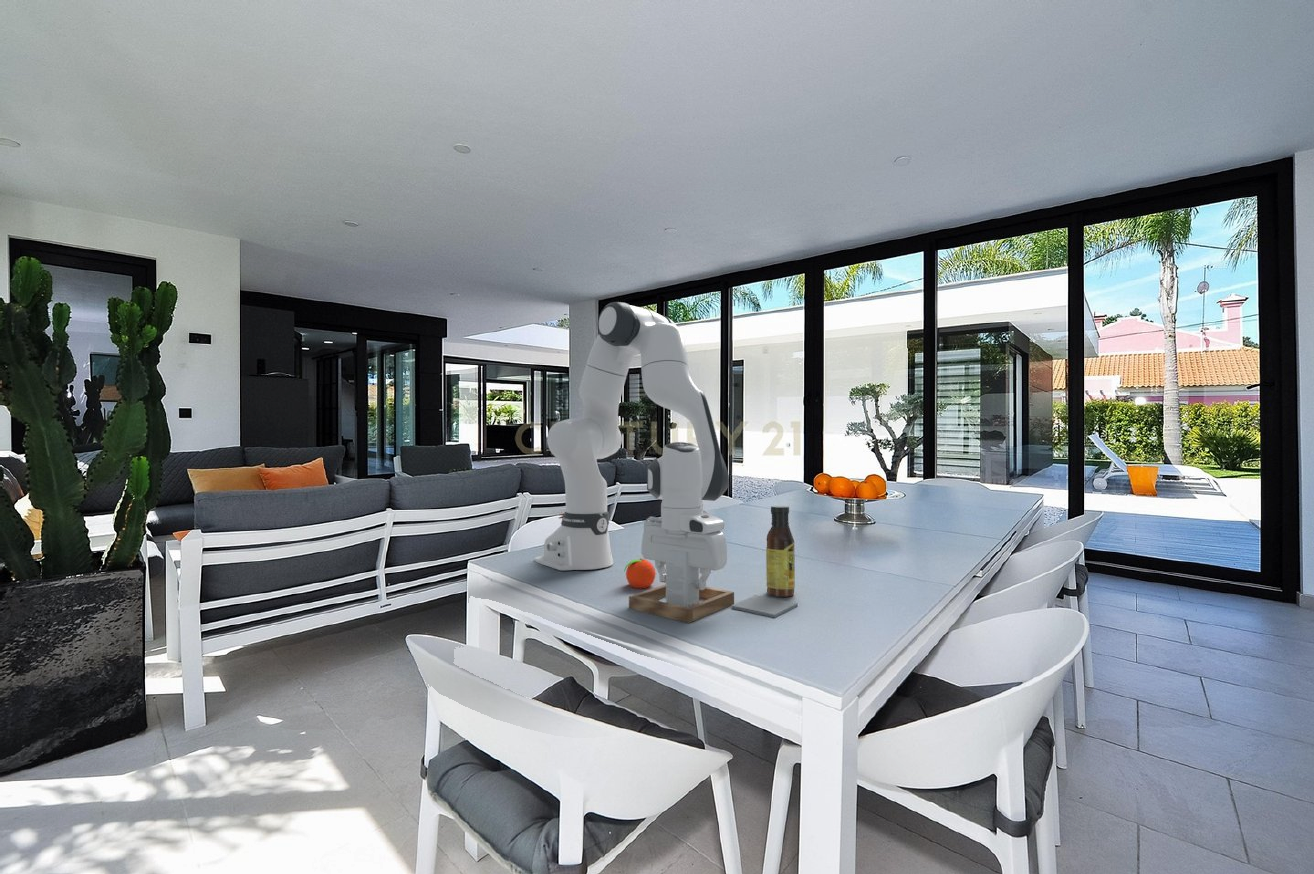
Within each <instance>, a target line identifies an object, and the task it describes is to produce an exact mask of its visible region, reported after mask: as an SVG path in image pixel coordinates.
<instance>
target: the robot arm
mask: <svg viewBox="0 0 1314 874" xmlns="http://www.w3.org/2000/svg"><path fill="white" fill-rule="evenodd" d="M597 331H598V335H597V337H596V339H595V340H594V342H593V345H592V347H591V350H590V352H589V354H588V357H587V361H586V364H585V368H584V371H583V374H582V377H581V381H580V384H579V385H580V386H579V388H578V395H579V397H580V399H581V400H582V416H581V418H568V419H564V420H560V421H558V422H556V423H553V425H552V426H551V427H550V429H549V431H548V433H547V438H546V440H547V447H548V449H549V451H550V452H551V454H552V455H553V456H554V457H555V458H556V460H557V461H558V464H559V466H560V469H561V471H562V473H561V474H562V477H563V481H564V489H565V492H564V493H565V512H564V513H560V514H558V516H559V517H558V519H559V520H560V519H561V523H560V526H559V527H558V528H557V529H556V530H554V531H553V533H551V534H550V535H549V536H548V537H546V539H545V540H544V544H543V550H542V551H543V553H542V555H541V554H540V555H539V556H536V557H535V558H534V562H535V563H538V564H541V565H544V566H547V567H550V568H551V569H555V570H558V571H574V570H575V571H579V570H580V571H583V570H585V571H586V570H589V571H590V570H597V569H603V568H604V569H605V568H608V567H611V566H613V565H614V560H613V554H612V550H611V543H610V542H611V541H610V534H609V533H610V532H609V529H608V528H609V524H610V512H609V511H608V483H607V480H606V479H605V478H604V477H603V476H602V473H601V472H600V469H599V465H598V461H597V460H602V459H605V458H608V457H610V456H613V455H614V454H616V453H617V452H618V451H619V450H620V448H621V445H622V443H623V442H622V441H623V439H622V438H623V436H622V432H621V431H620V428H619V421H618V420H619V409H620V408H619V406H620V400H621V397H622V394H623V391H624V386H625V384H626V380H627V376H628V373H629V369H630V365H631V362H632V360H633V358H634V357H635V356H638V355H640V362H641V363H640V364H641V365H640V367H641V381H642V387H643V391H644V393H645V395H646V396H647V397H648V398H649V399H650V400H651V401H652V402H653V403H654V404H655V405H657V406H660V407H662V408H665V409H667V410H670V411H673V412H675V413H677V414H680V415H681V416H683V417H685V418H686V419H687V420H688V421H689V422H690V424H691V425H692V427H693V430H694V434H695V439H696V443H697V445H696V444H694V443H690V442H686V441H685V442H683V441H676V442H675V441H674V442H670V443H667V444H665V445H664V447H663V448H662V449H663V450H662V456H661V457H659V458H655V459H653V460H652V461H651V462H650V464H649V465H648V466H647V467H646V490H647V492H649V493H650V495H652V496H653V498H655V499H659V500H662V501H661V504H660V516H659V517H656V516H649V517H648V518H646V519H645V520H644V522H643V533H642V539H641V548H640V549H641V551H640V552H641V555H642V557H643V559H645V560H648V561H654V565H655V566H654V567H655V569H656V571H657V572H658V574H659V582H660V583H665V584H666V561H667V560H668V550H675V551H681V552H688V566H690V567H696V568H699V574H701V575H700V576H699V580H696V581H695V584H696V586H695V588H696V589H699V590H704V589H705V588H706V587H707V581H708V578H709V576H710V575H711V573H712V571H714V572H716V571H719V570H722V569H724V568H725V566H726V565H727V563H728V551H727V550H728V549H727V541H726V540H727V539H726V536H725V534H724V533H723V532H722V531H723V530H724V528H725V522H724V521H723V520H722V518H719V517H717V516H714V514H713V515H712V514H710V513H709V512H707V511H705V510H704V504H703V503H704V502H703V501H709V502H710V501H712V502H715V501H716V500H718V499H719V498H721V496H723V495H724V493H726V491H727V489H728V488H729V473H728V468H727V466H726V463H725V460H724V458H723V454H722V453H721V449H720V448H721V447H720V445H719V441H718V436H717V432H716V429H715V425H714V420H713V417H712V412H711V410H710V406H709V403H708V400H707V397H706V395H705V392H704V391H703V390H701V389H700V388H698V387H697V385H696V384H695V382H694V381H693V379H692V377H691V375H690V371H689V363H688V362H689V361H688V353H687V349H686V348H687V347H686V344H685V340H684V335H683V333H682V331H681V329H680V328H679V327H678V325H677V324H676V323H675V321H673V320H672V319H670V317H668V316H665V315H661V314H660V313H657V312H656V311H653V310H650V309H648V308H645V307H640V306H635V305H630V304H629V303H626V302H621V301H620V302H619V301H613V302H609V303H607V304H606V305H605V306H604V307H603V308H602V310H601V312H600V313H599V316H598V318H597Z"/></svg>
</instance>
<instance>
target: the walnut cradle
mask: <svg viewBox="0 0 1314 874" xmlns="http://www.w3.org/2000/svg"><path fill="white" fill-rule="evenodd" d="M663 598H666V583H665V584H662V585H660V586H657V587H653V588H651V589H650V588H649V589H648V590H644V591H641V592H638V593H635V594H632V595H629V596H628V608H629V609H633V610H636V611H638V612H639V611H641V612H644V613H647V614H651V615H653V616H659V617H663V618H667V619H672V620H675V621H679V622H684V623H687V624H691V623H692V622H695V621H697V620H699V619H702V618H704V617H707V616H709V615H711V614H713V613H716V612H718V611H720V610H723V609H725V608H728V607H730V606H731V605H734V604H735V591H731V590H726V589H720V588H715V587H710V586H706V588H705V589H704V590H699V599H700V598H701V599H704V600H703V601H701V602H700V601H699V603H698V604H695V605H693V606H690V607H683V606H679V605H674V604H670V603H666V601H660V599H663Z"/></svg>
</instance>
